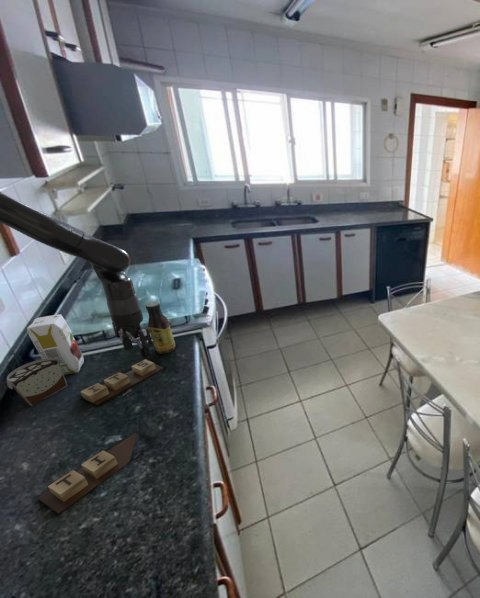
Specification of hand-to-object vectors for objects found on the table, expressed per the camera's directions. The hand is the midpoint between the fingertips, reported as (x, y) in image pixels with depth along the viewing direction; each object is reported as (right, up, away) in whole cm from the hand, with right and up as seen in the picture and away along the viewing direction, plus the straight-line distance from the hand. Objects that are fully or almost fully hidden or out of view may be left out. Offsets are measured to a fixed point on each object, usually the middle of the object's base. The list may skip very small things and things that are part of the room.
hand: (137, 352), depth 108 cm
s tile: (0, -7, +3) cm, 7 cm away
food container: (-22, -11, -9) cm, 26 cm away
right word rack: (-3, -9, -2) cm, 10 cm away
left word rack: (+15, -23, -29) cm, 40 cm away
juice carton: (-24, -6, +2) cm, 25 cm away
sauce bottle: (-1, -2, +16) cm, 16 cm away
